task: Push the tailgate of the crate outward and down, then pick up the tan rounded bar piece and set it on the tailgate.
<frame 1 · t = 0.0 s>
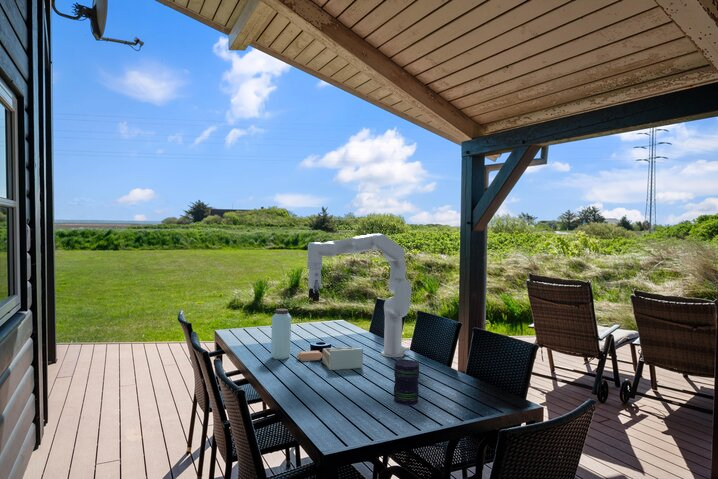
hand: (313, 299, 231), 31 cm above the table, tool pointing down, fingers open, 9 cm apart
water bottle: (280, 357, 234), on the table
tan rounded bar piece: (309, 359, 232), on the table
crate: (341, 365, 223), on the table
tailgate: (346, 358, 215), point 5 cm above the table, hinge at 0.0°
storage jar: (405, 401, 176), on the table
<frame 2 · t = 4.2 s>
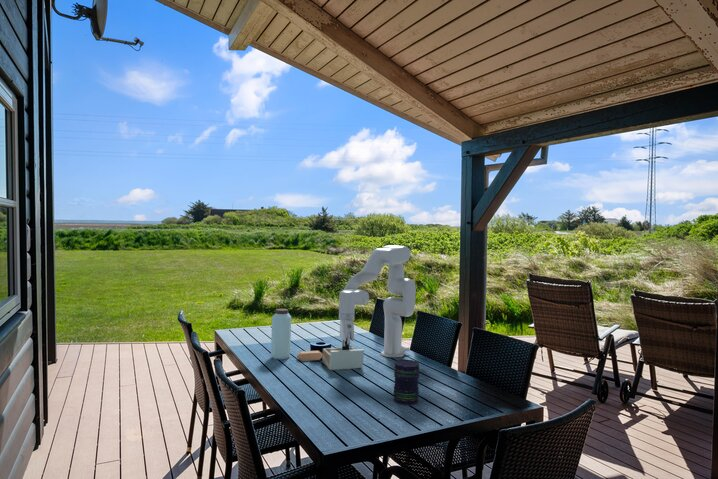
hand: (345, 354, 217), 7 cm above the table, tool pointing down, fingers closed
tailgate: (346, 359, 215), point 5 cm above the table, hinge at 9.4°, touching gripper
everything else where it was.
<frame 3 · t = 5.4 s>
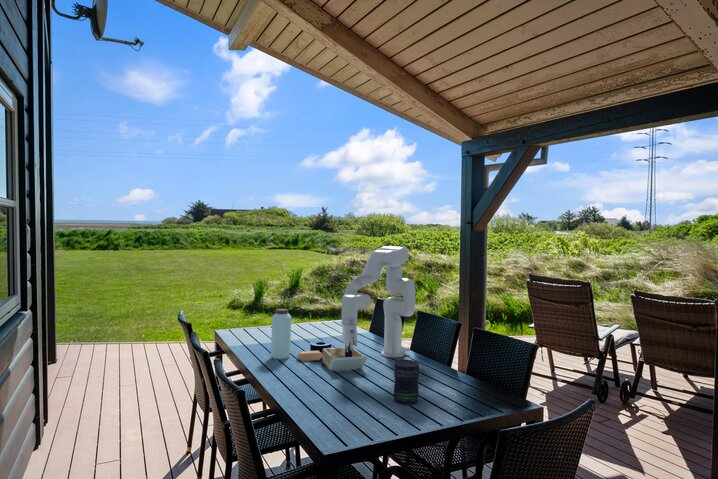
hand: (348, 359, 212), 6 cm above the table, tool pointing down, fingers closed
tailgate: (348, 363, 212), point 4 cm above the table, hinge at 44.5°, touching gripper
everything else where it was.
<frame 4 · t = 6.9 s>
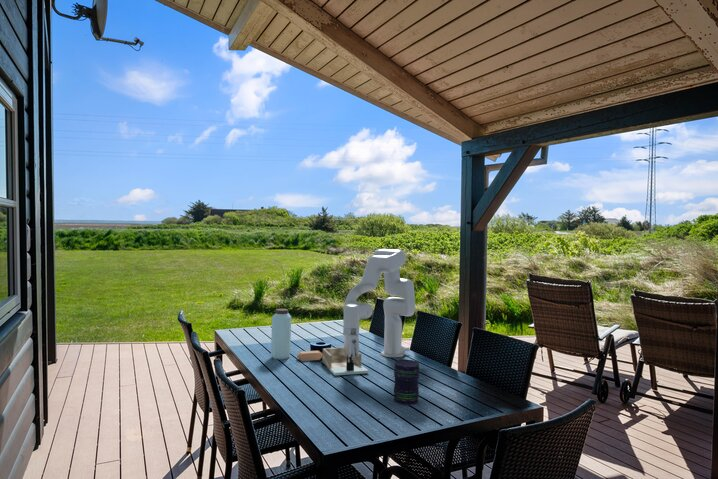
hand: (350, 370, 209), 2 cm above the table, tool pointing down, fingers closed
tailgate: (348, 370, 211), point 1 cm above the table, hinge at 88.1°, touching gripper
everything else where it was.
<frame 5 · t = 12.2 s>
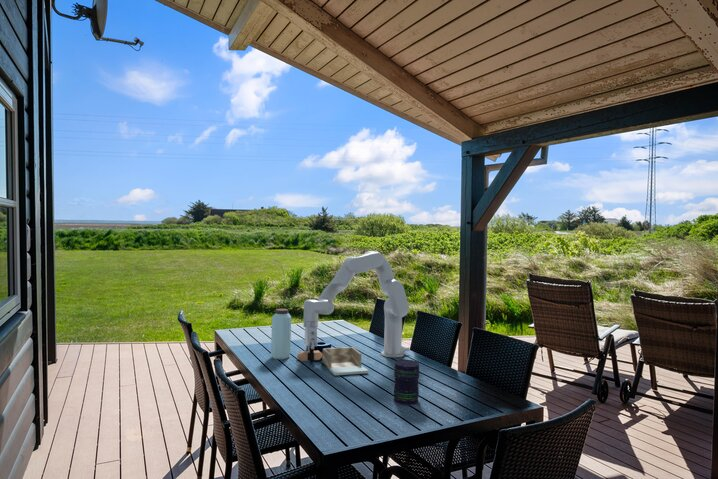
hand: (309, 358, 232), 0 cm above the table, tool pointing down, fingers closed on tan rounded bar piece, 4 cm apart
tan rounded bar piece: (309, 359, 232), on the table, touching gripper
tailgate: (348, 370, 211), point 1 cm above the table, hinge at 88.1°
everything else where it was.
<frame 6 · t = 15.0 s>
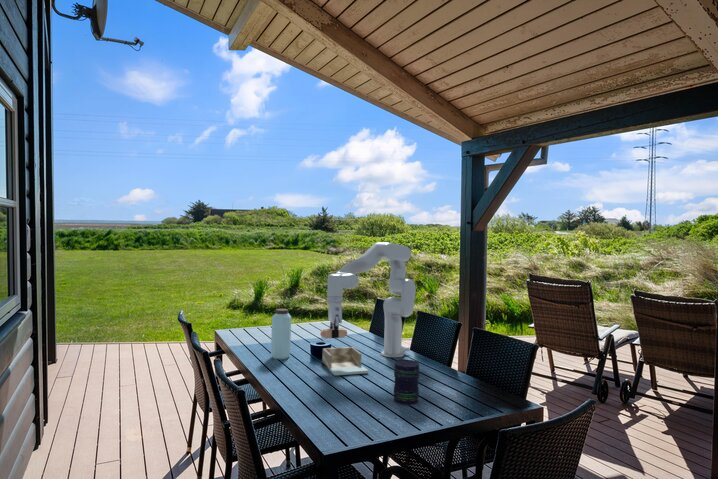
hand: (333, 336, 219), 15 cm above the table, tool pointing down, fingers closed on tan rounded bar piece, 4 cm apart
tan rounded bar piece: (333, 337, 219), point 15 cm above the table, touching gripper
everything else where it was.
when the fingers open (4 cm above the table, at t = 18.4 s): tan rounded bar piece drops 2 cm, resting on tailgate.
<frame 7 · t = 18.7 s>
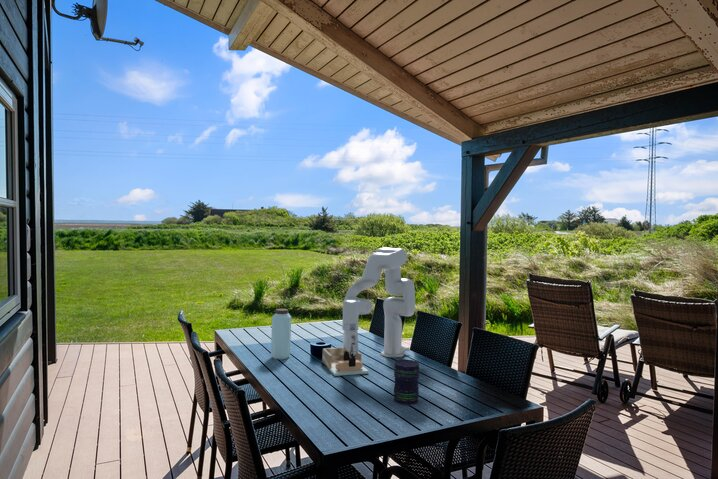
hand: (349, 363, 211), 4 cm above the table, tool pointing down, fingers open, 7 cm apart
tan rounded bar piece: (349, 369, 211), point 1 cm above the table, touching tailgate
tailgate: (348, 370, 211), point 1 cm above the table, hinge at 89.1°, touching tan rounded bar piece
everything else where it was.
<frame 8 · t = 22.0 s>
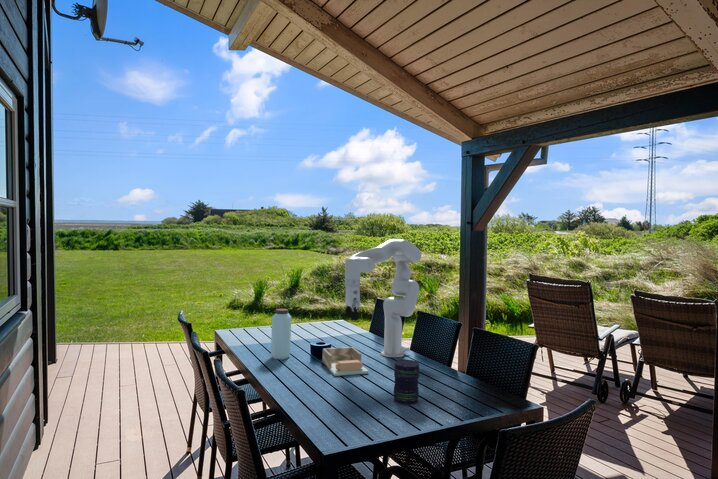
hand: (351, 318, 219), 24 cm above the table, tool pointing down, fingers open, 9 cm apart
nothing on the table moved.
at the end: tailgate at +89° (first picture: +0°); tan rounded bar piece inside the target area (0.0 cm from its centre), point 1.5 cm above the table; the gripper is holding nothing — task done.
